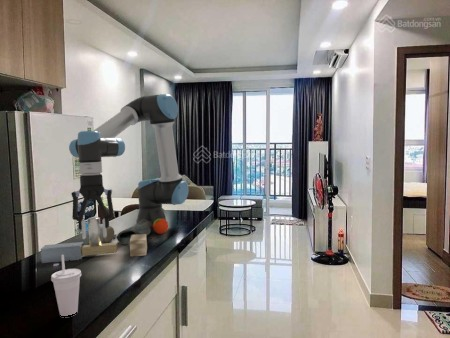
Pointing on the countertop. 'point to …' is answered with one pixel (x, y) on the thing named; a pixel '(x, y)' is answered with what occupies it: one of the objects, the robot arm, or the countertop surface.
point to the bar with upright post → (97, 240)
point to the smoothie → (67, 289)
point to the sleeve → (61, 252)
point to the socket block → (138, 245)
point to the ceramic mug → (109, 234)
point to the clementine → (160, 226)
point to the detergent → (134, 231)
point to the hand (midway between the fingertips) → (94, 237)
